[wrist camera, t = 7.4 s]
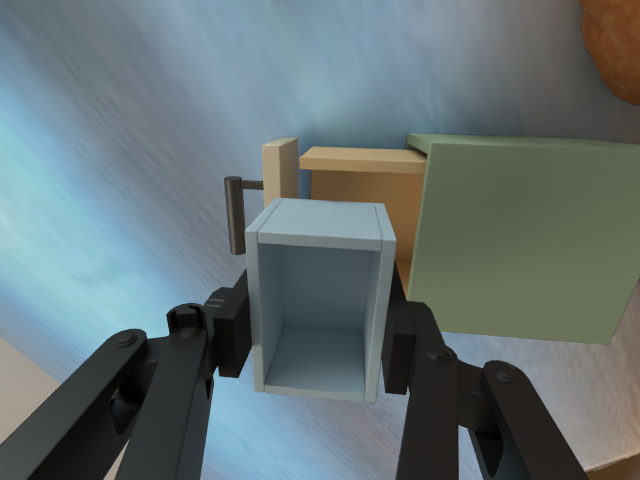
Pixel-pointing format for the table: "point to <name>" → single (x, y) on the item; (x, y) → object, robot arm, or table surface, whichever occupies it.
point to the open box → (319, 297)
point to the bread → (615, 44)
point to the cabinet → (527, 235)
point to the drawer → (339, 187)
